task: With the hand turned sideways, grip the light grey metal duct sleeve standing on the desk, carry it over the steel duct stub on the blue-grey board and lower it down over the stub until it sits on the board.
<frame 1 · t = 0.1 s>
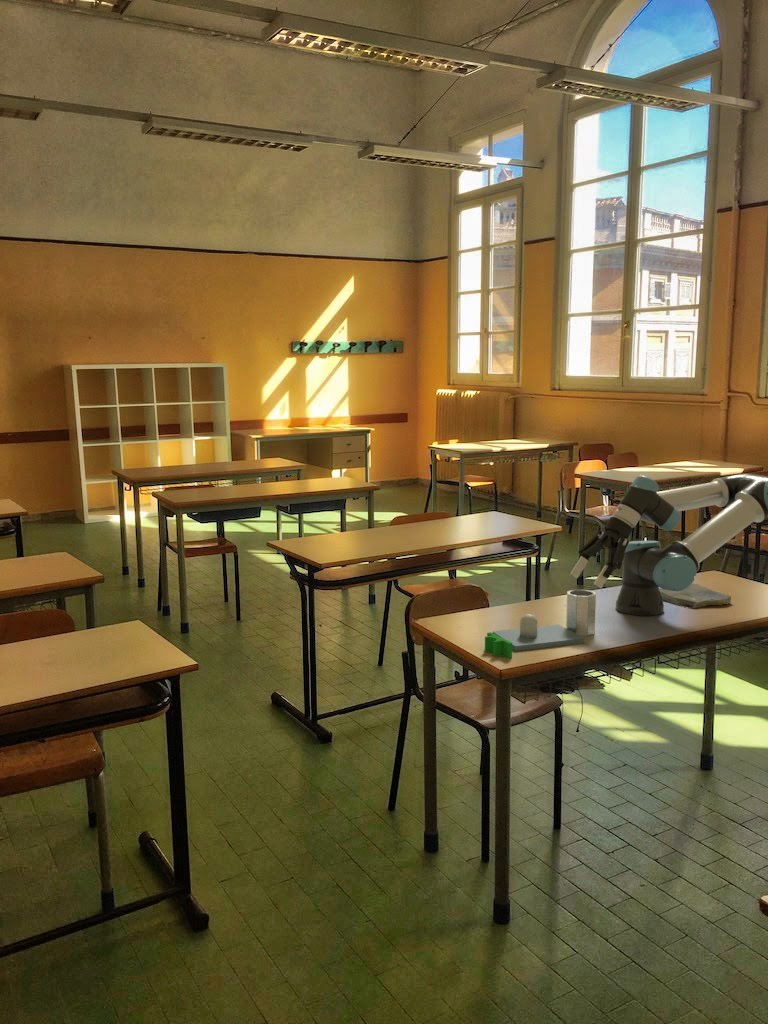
hand: (585, 581, 259), 15 cm above the table, tool tilted 35°, fingers open, 13 cm apart
fossil: (692, 602, 294), on the table
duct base: (537, 639, 252), on the table
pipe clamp: (495, 654, 240), on the table
duct sleeve: (580, 631, 260), on the table
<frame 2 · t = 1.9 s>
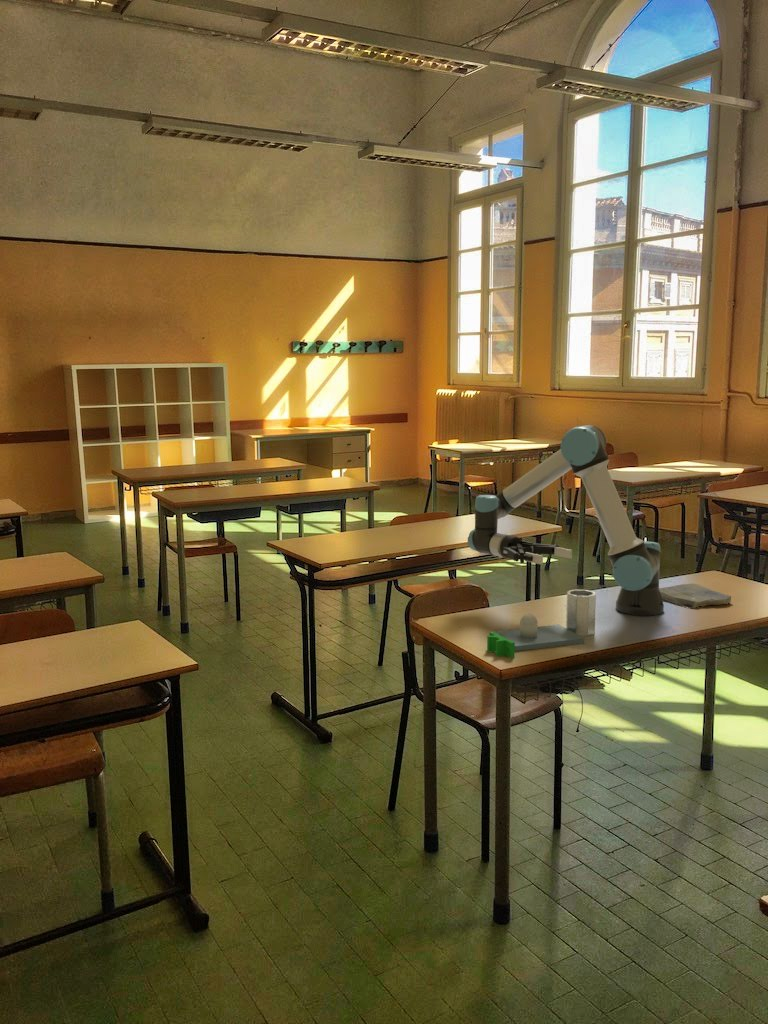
hand: (556, 557, 264), 21 cm above the table, tool horizontal, fingers open, 13 cm apart
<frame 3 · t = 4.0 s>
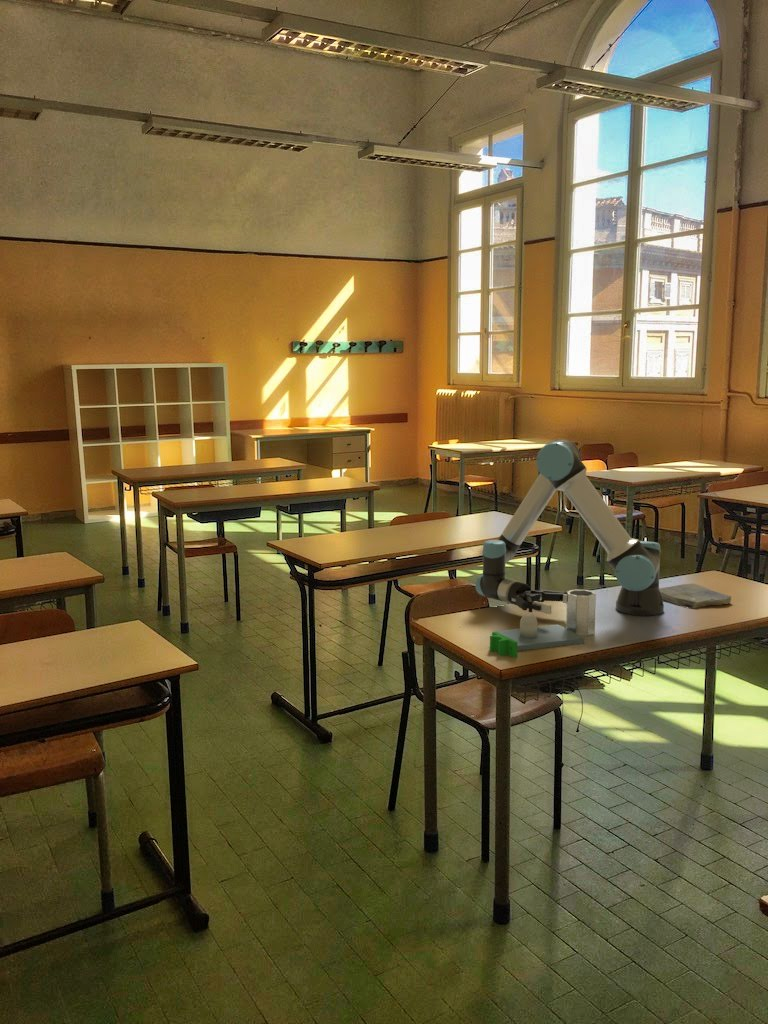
hand: (565, 606, 263), 7 cm above the table, tool horizontal, fingers open, 13 cm apart
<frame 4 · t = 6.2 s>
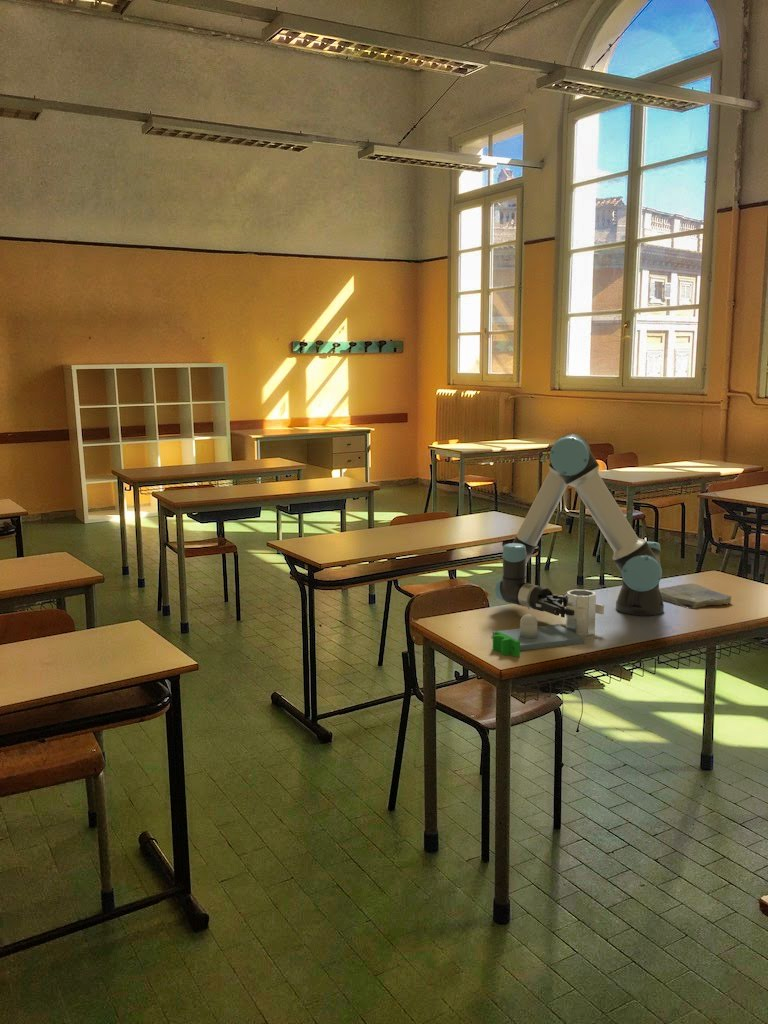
hand: (593, 612, 255), 7 cm above the table, tool horizontal, fingers closed on duct sleeve, 8 cm apart
duct sleeve: (580, 631, 260), on the table, touching gripper
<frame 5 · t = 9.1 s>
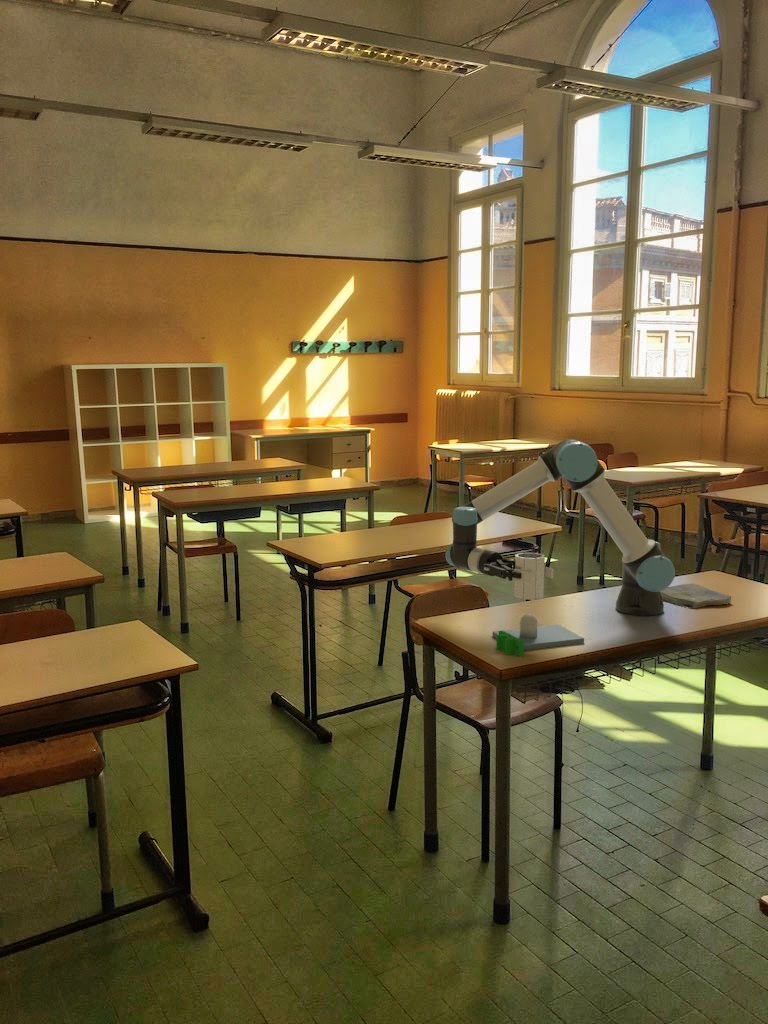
hand: (541, 575, 245), 20 cm above the table, tool horizontal, fingers closed on duct sleeve, 8 cm apart
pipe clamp: (507, 652, 242), on the table
duct sleeve: (528, 596, 249), point 13 cm above the table, touching gripper
everything else where it was.
when the fingers open (10 cm above the table, at t = 12.0 s): duct sleeve drops 1 cm, resting on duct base.
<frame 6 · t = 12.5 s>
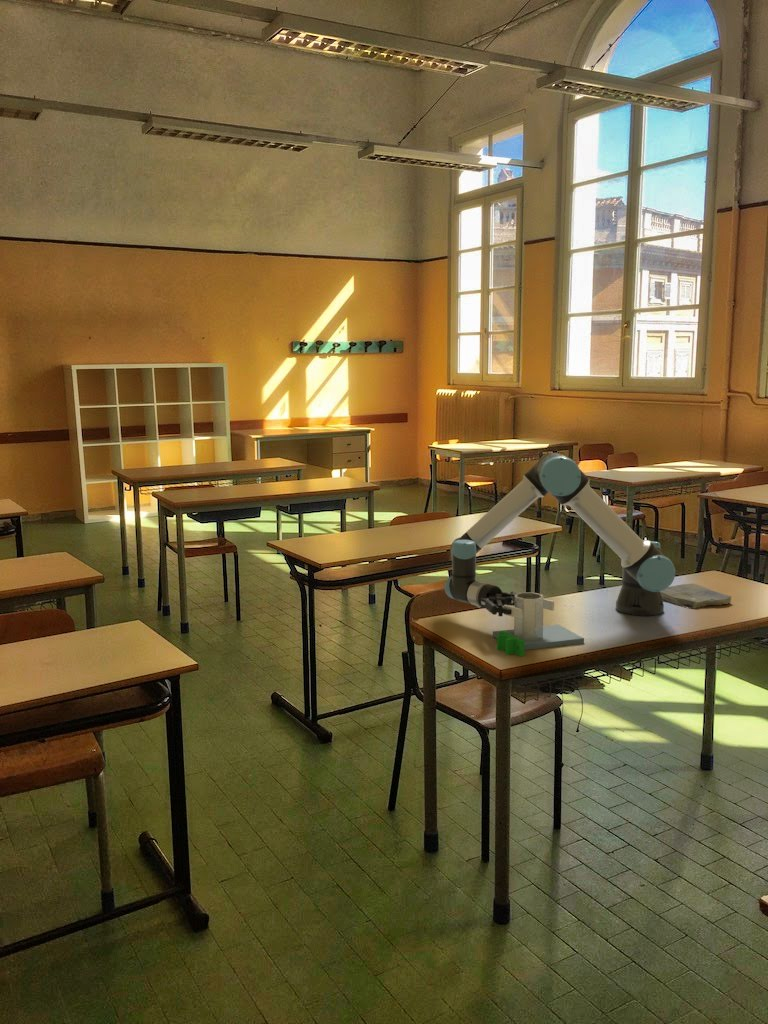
hand: (537, 609, 247), 10 cm above the table, tool horizontal, fingers open, 13 cm apart
duct sleeve: (528, 635, 251), point 1 cm above the table, touching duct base
everything else where it was.
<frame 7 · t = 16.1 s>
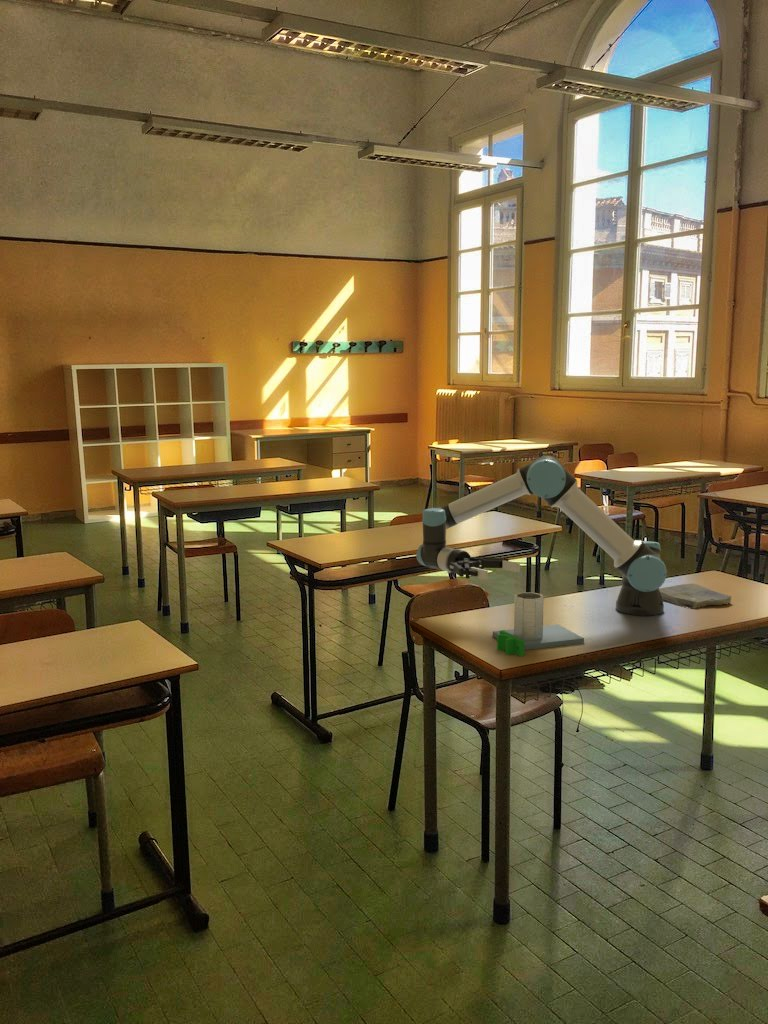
hand: (503, 571, 256), 19 cm above the table, tool horizontal, fingers open, 13 cm apart
nothing on the table moved.
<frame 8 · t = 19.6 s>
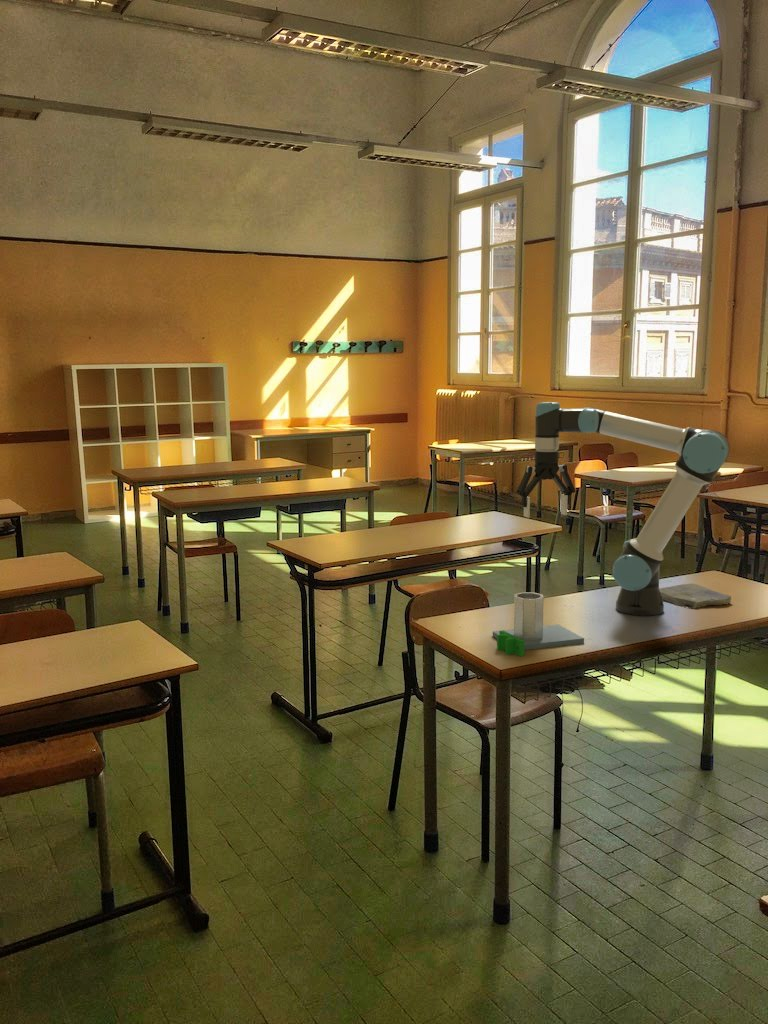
hand: (545, 515, 279), 32 cm above the table, tool pointing down, fingers open, 13 cm apart
nothing on the table moved.
at the end: duct sleeve 0.1 cm from the target spot on the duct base, point 1.5 cm above the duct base's base; duct sleeve tilted 0°; the gripper is holding nothing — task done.
